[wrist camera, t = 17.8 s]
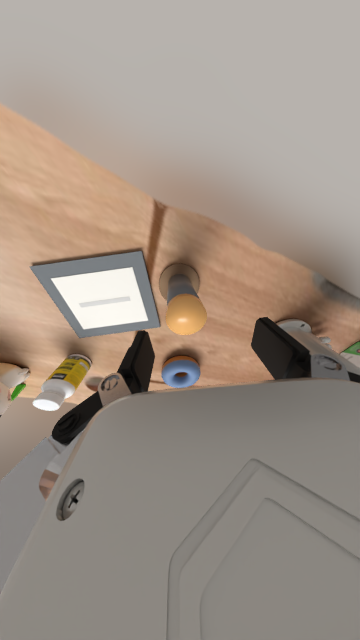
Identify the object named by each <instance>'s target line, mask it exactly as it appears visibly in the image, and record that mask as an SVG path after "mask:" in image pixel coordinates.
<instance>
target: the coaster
mask: <svg viewBox="0 0 360 640" xmlns="http://www.w3.org/2000/svg"><path fill="white" fill-rule="evenodd" d="M176 274H184V275H186V276H187V277H188V278H189V279H190V281H191V283H192V285H193V287H194V289H195V291H196V293H198V290H199V278H198V275H197V274H196V272H195V271H194V270H193V269H192V268H191V267H189V266H188V265H185V264H174V265H171V266H169V267H168V268H166V269H165V270H164V272H163V273H162V275H161V277H160V281H159V289H160V292H161V294H162V296H163V297H164V298H165V299H166V300H167V294H168V282H169V280H170V278H171V277H172V276H174V275H176Z"/></svg>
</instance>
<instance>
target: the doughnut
mask: <svg viewBox="0 0 360 640" xmlns="http://www.w3.org/2000/svg"><path fill="white" fill-rule="evenodd" d="M199 376H200V368H199V364H198V363H197V362H196V361H195V360H194V359H193V358H191V357H188V356H175V357H173V358H170V359H169V360H167V361H166V362H165V363H164V365H163V367H162V378H163V380H164V382H165V383H166V384H167V385H169V386H171V387H175V388H184V387H188V386H191V385H193V384H194V383H195V382H196V381H197V380H198V379H199Z"/></svg>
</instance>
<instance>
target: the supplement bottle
mask: <svg viewBox="0 0 360 640" xmlns="http://www.w3.org/2000/svg"><path fill="white" fill-rule="evenodd" d="M90 367H91V361H90V360H89V359H88V358H87V357H85V356H83V355H80V354H73V355H70V356H68V357H67V358H66V359H65V360H64V361H63V362H62V363H61V365H60V366H59V367H58V368H57V369H56V370H55V371H54V372H53V373H52V374H51V376H50V377H49V378H48V379H47V380H46V381H45V382H44V383H43V385H42V387H41V390H42V393H40V394H39V395H38V396H37V398H36V399H35V400H34V401H33V405H34V406H35V407H37V408H39V409H42V410H48V411H49V410H50V411H53V410H57V409H58V408H59V407H60V406H61V404H62V403H63V401H64V399H65V398H68V397H70V396H71V395H72V394H73V393H74V392H75V390H76V389H77V387H78V386H79V384H80V383H81V381H82V380H83V378H84V377H85V375H86V373H87V372H88V370H89V369H90Z"/></svg>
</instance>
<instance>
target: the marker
mask: <svg viewBox="0 0 360 640" xmlns="http://www.w3.org/2000/svg"><path fill="white" fill-rule="evenodd" d="M206 319H207V313H206V310H205V308H204V306H203V304H202V302H201V301H200V299H199V297H198V295H197V293H196V291H195V289H194V287H193V285H192V283H191V281H190V279H189V278H188V277H187V276H186V275H184V274H176V275H174V276H172V277H171V278H170V280H169V282H168V294H167V308H166V323H167V325H168V327H169V328H170V329H171V330H172V331H173V332H175V333H177V334H181V335H189V334H193V333H195V332H197V331H199V330H200V329H201V328H202V327H203V326H204V324H205V322H206Z"/></svg>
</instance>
